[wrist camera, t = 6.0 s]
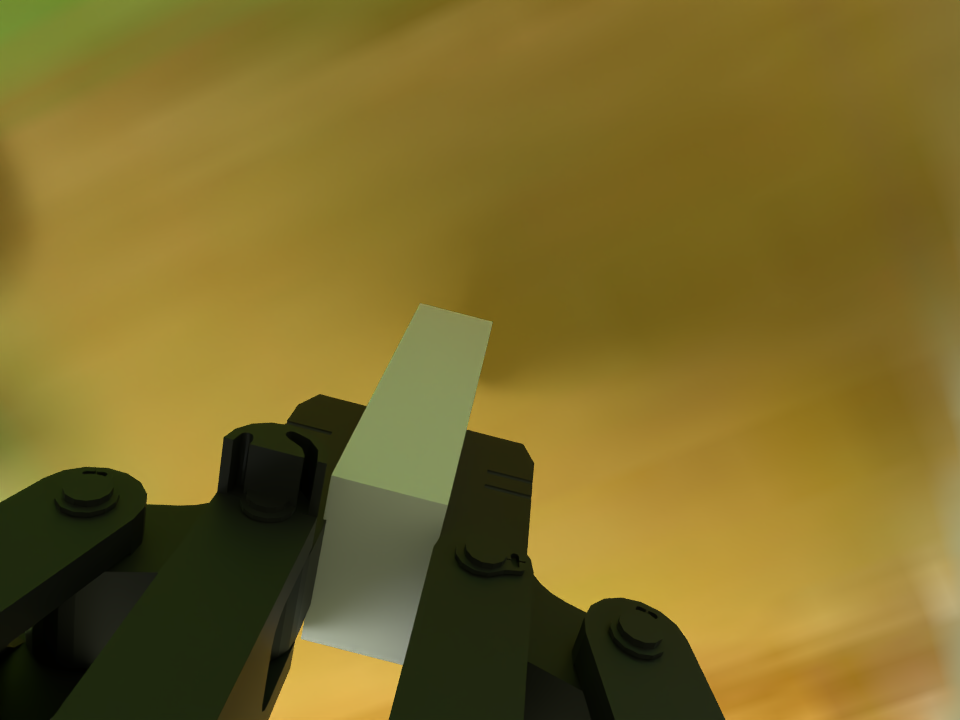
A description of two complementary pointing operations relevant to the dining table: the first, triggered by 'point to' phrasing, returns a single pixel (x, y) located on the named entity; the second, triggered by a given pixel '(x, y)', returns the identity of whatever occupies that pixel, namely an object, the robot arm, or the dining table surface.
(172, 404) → the dining table surface
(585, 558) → the dining table surface
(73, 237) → the dining table surface
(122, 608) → the robot arm
